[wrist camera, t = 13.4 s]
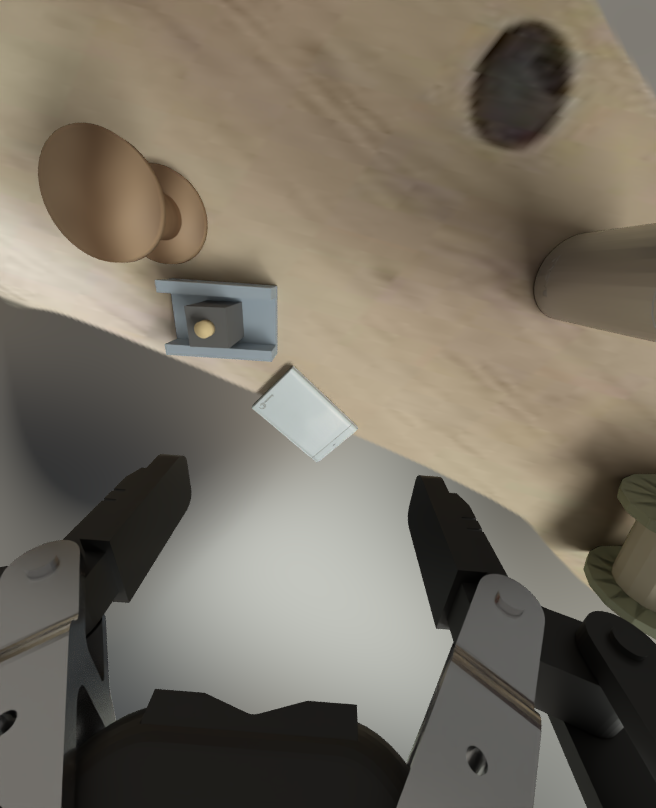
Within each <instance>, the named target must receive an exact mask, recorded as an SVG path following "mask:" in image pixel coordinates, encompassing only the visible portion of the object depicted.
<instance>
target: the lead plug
mask: <svg viewBox="0 0 656 808" xmlns="http://www.w3.org/2000/svg"><path fill="white" fill-rule="evenodd" d="M184 309H185V316H186V323H187V330H188V337H189V344H190V347H208V348H230V347H232V346H233V345H234V344H235V343H237V342H238V341H239V340H241V339H242V338H243V337H244V325H243V310H242V302H234V301H213V300H206V301H202V302H198V303H194V304H190V305H186V306H184Z"/></svg>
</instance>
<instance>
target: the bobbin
mask: <svg viewBox="0 0 656 808" xmlns="http://www.w3.org/2000/svg"><path fill="white" fill-rule="evenodd" d="M38 179H39V186H40V191H41V195H42V198H43V201H44V204H45V206H46V208H47V211H48V213H49V215H50V216H51V218H52V220H53V221H54V223H55V224H56V226H57V227H58V229H59V230H60V231H61V232H62V234H63V235H64V236H65V237H66V238H67V239H68V240H69V241H70V242H71V243H72V244H74V245H75V246H76V247H77V248H79V249H80V250H82V251H83V252H85V253H86V254H88V255H90V256H92V257H95V258H97V259H100V260H103V261H108V262H134V261H137V260H140V259H142V258H144V257H147V258H149V259H151V260H153V261H156V262H159V263H164V264H180V263H184V262H187V261H189V260H191V259H192V258H194V257H195V256H196V255H197V254H198V253H199V251H200V250H201V249H202V247H203V245H204V242H205V240H206V235H207V215H206V211H205V207H204V205H203V202H202V200H201V198H200V196H199V194H198V193H197V191H196V190H195V188H194V187H193V186H192V184H191V183H190V182H189V181H188V180H187V179H185V178H184V177H183V176H182V175H180V174H179V173H177V172H175V171H174V170H172V169H170V168H168V167H166V166H163V165H160V164H155V163H148V162H147V160H146V159H145V158H144V157H143V155H142V154H141V153H140V152H139V151H138V150H137V149H136V148H135V147H134V146H132V145H131V144H130V143H129V142H127V141H126V140H124V139H123V138H121V137H120V136H118V135H116V134H115V133H113V132H112V131H110V130H108V129H106V128H103V127H101V126H98V125H95V124H90V123H73V124H68V125H66V126H63V127H61V128H59V129H58V130H56V131H55V132H54V133H53V134H52V135H51V136H50V137H49V138H48V140H47V141H46V142H45V144H44V146H43V149H42V151H41V155H40V158H39V165H38Z"/></svg>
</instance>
